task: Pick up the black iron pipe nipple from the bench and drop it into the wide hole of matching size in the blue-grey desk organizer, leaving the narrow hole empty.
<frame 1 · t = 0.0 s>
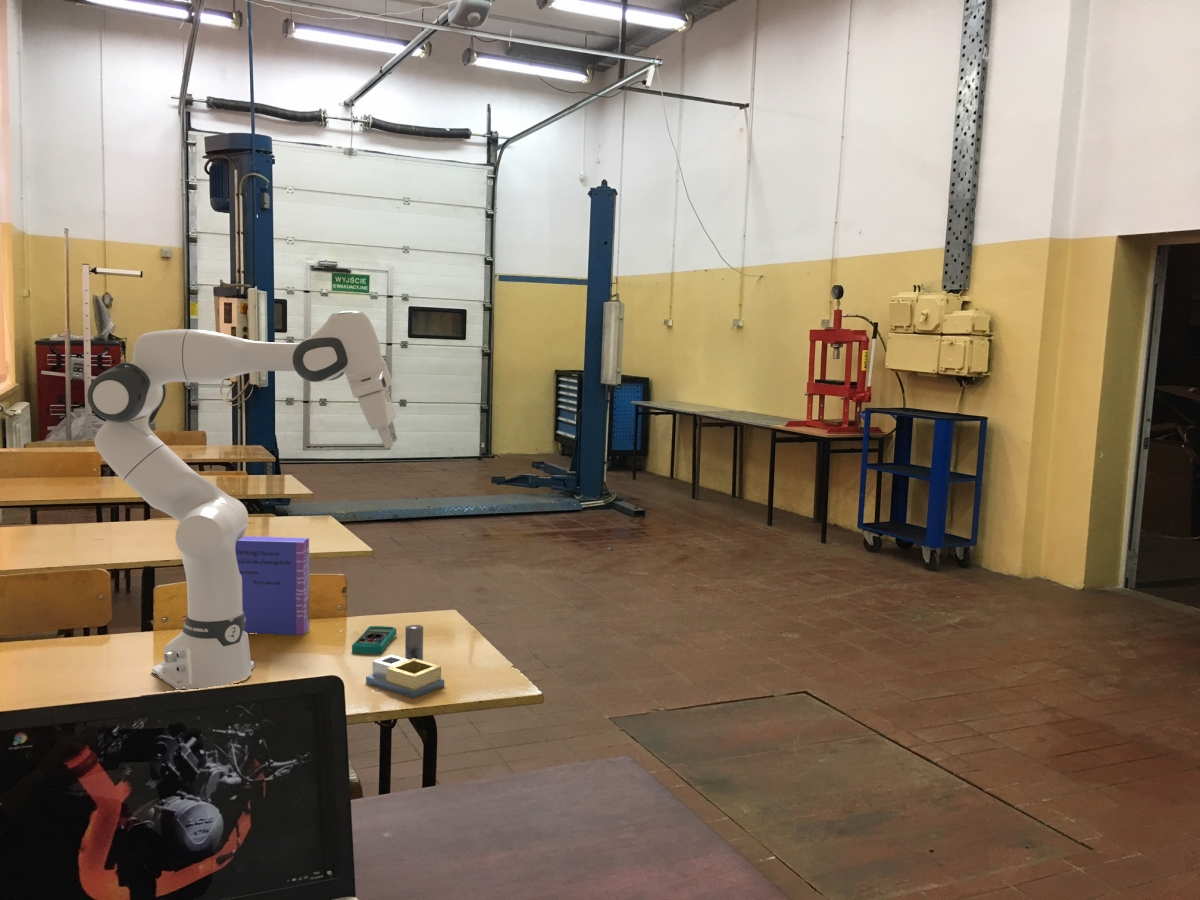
hand: (391, 444, 207), 52 cm above the table, tool tilted 20°, fingers open, 8 cm apart
pipe nipple: (414, 665, 221), on the table
desk organizer: (405, 684, 208), on the table
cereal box: (272, 632, 241), on the table
digital multimeter: (374, 646, 235), on the table
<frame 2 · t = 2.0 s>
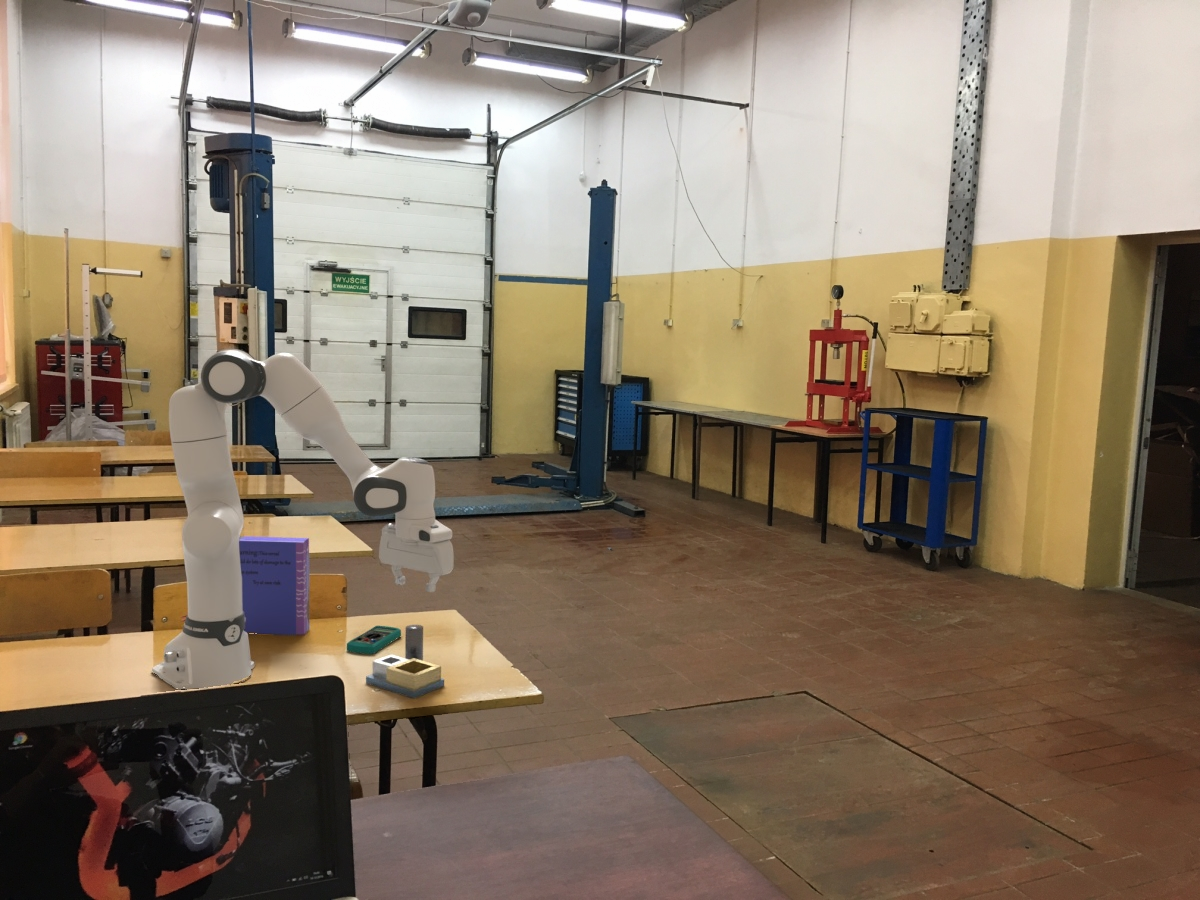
hand: (415, 587, 218), 18 cm above the table, tool pointing down, fingers open, 8 cm apart
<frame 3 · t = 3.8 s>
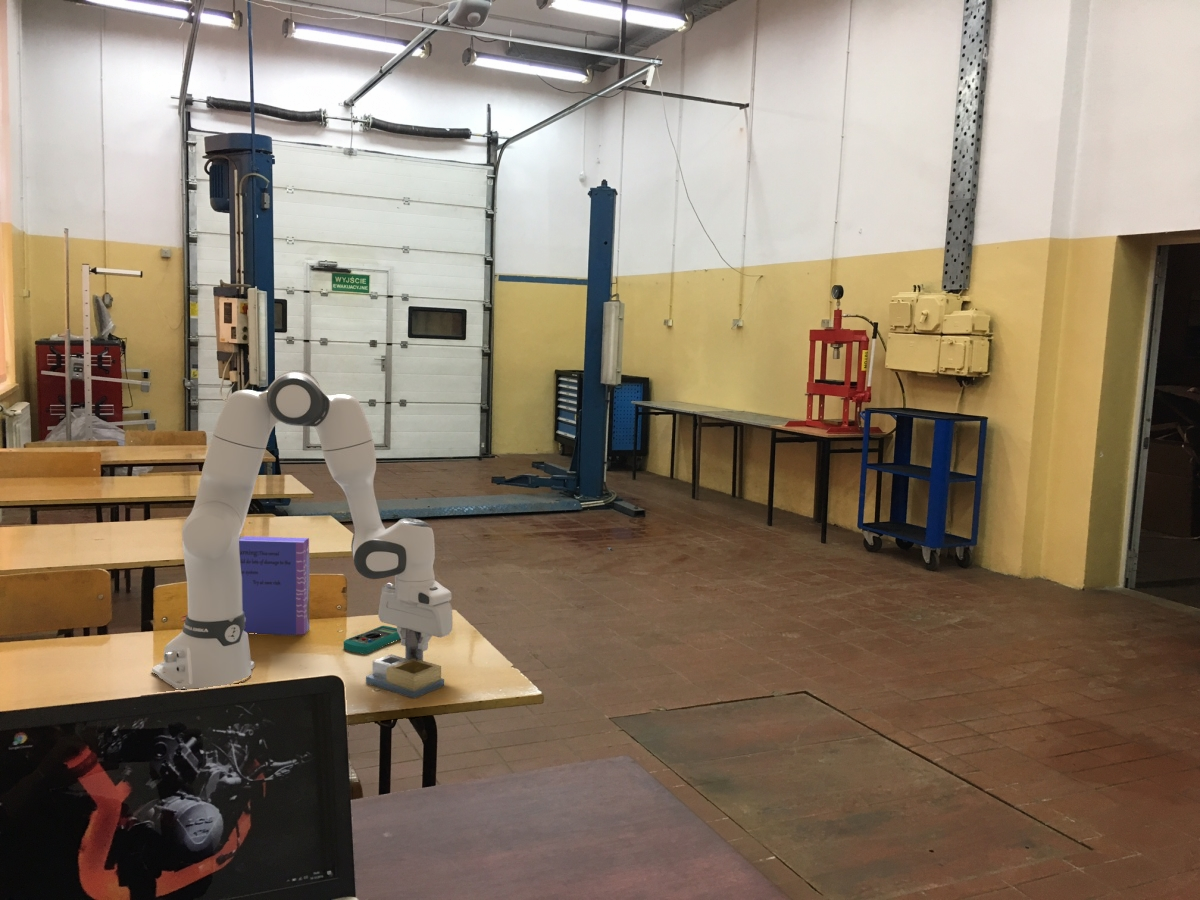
hand: (414, 647, 220), 4 cm above the table, tool pointing down, fingers closed on pipe nipple, 4 cm apart
pipe nipple: (414, 665, 221), on the table, touching gripper
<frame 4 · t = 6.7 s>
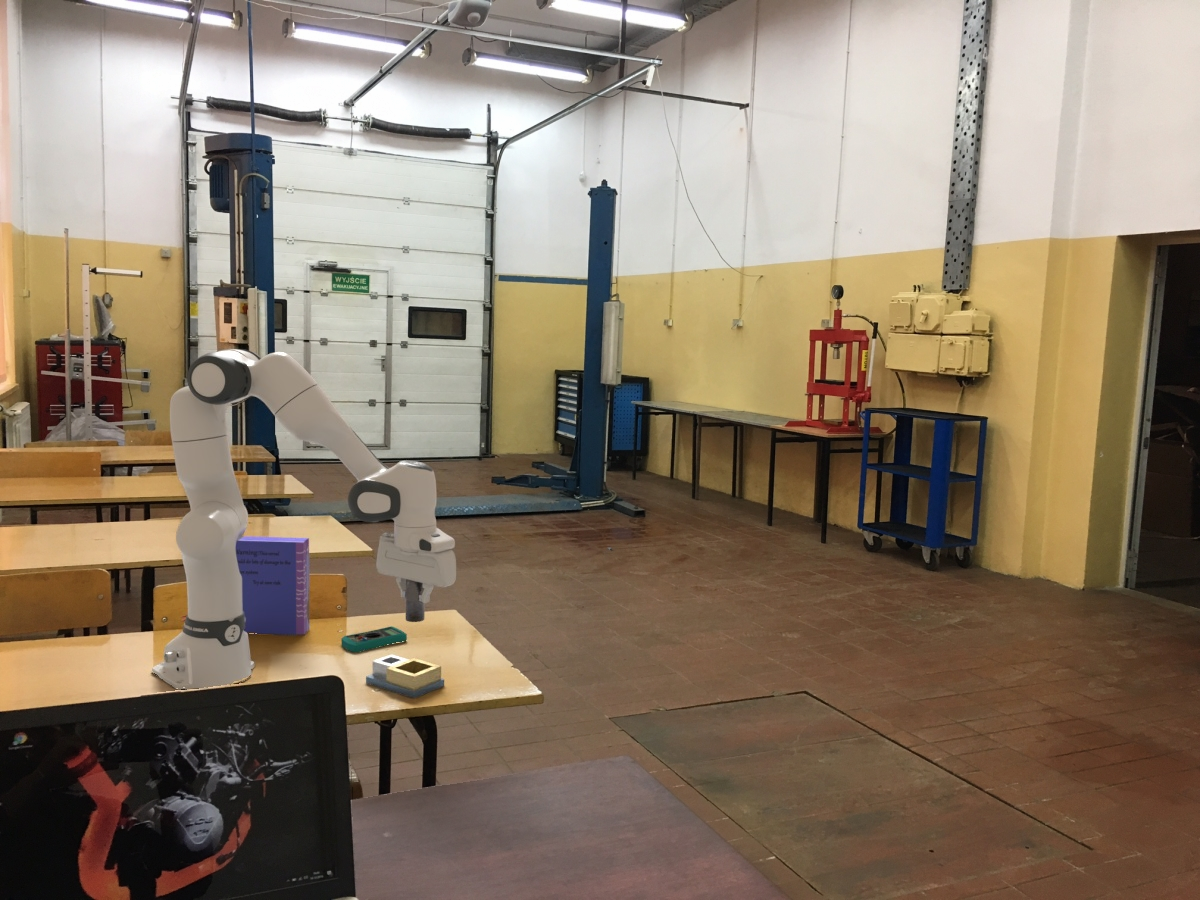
hand: (414, 600, 205), 19 cm above the table, tool pointing down, fingers closed on pipe nipple, 4 cm apart
pipe nipple: (415, 619, 206), point 15 cm above the table, touching gripper
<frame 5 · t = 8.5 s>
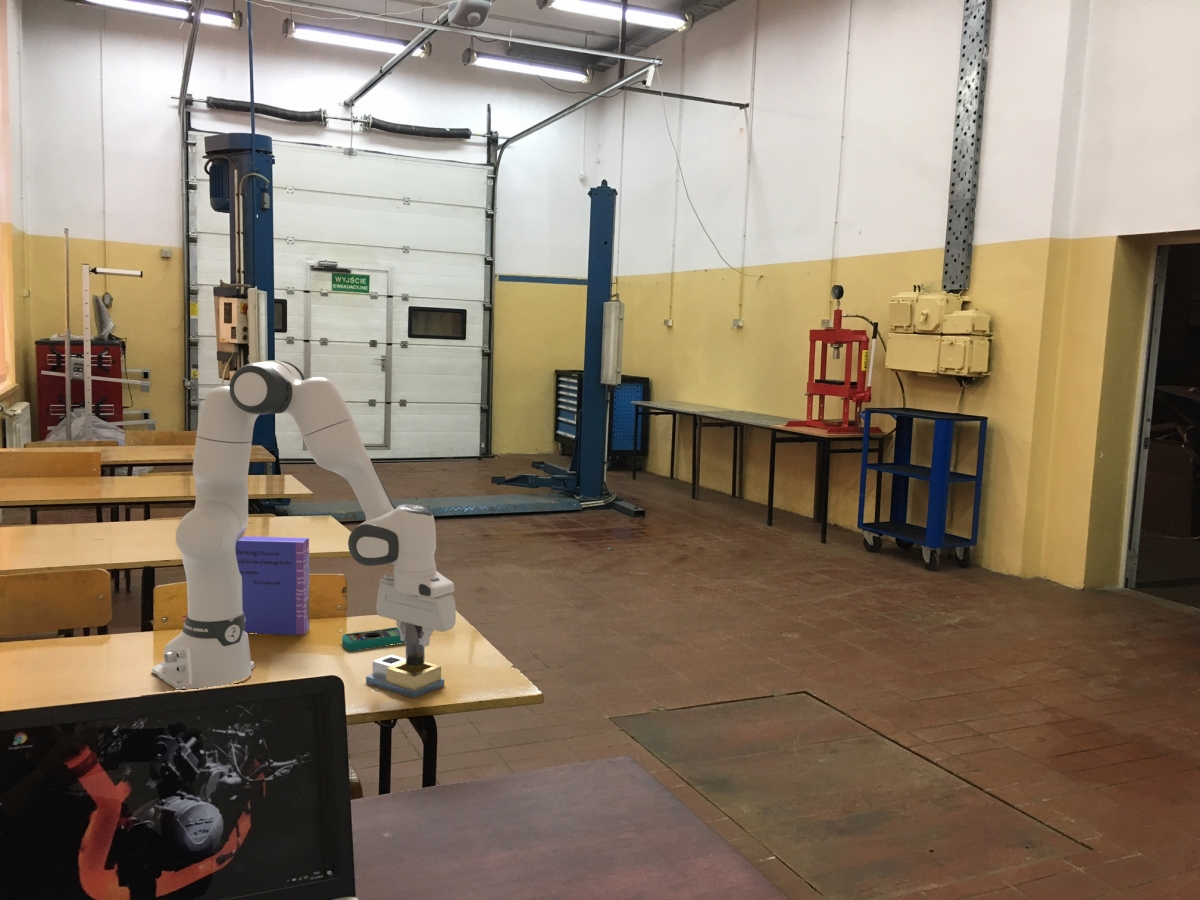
hand: (414, 643, 206), 10 cm above the table, tool pointing down, fingers closed on pipe nipple, 4 cm apart
pipe nipple: (415, 662, 206), point 6 cm above the table, touching gripper
when the fingers open (7 cm above the table, at t = 9.9 s): pipe nipple stays where it is, resting on desk organizer.
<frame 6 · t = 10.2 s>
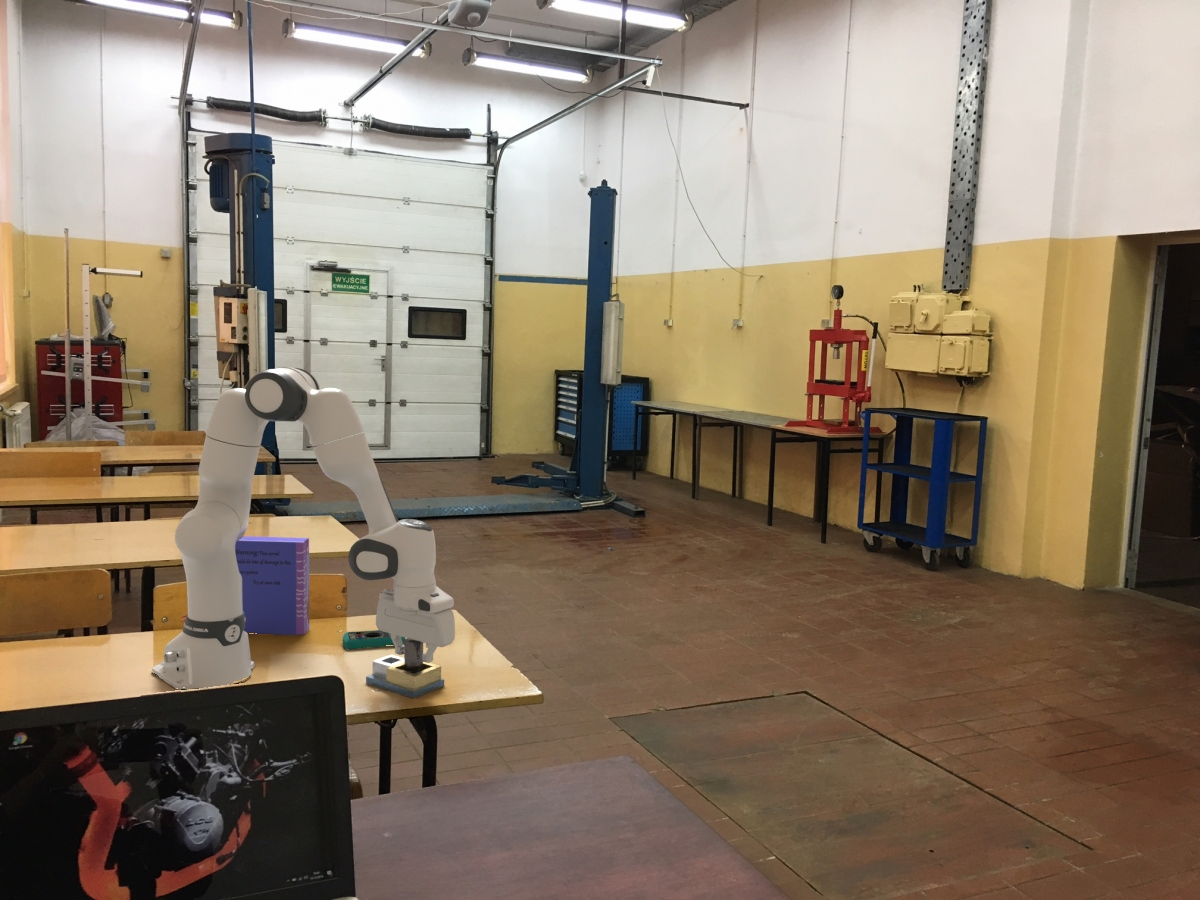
hand: (413, 657, 206), 7 cm above the table, tool pointing down, fingers open, 7 cm apart
pipe nipple: (413, 680, 207), point 2 cm above the table, touching desk organizer
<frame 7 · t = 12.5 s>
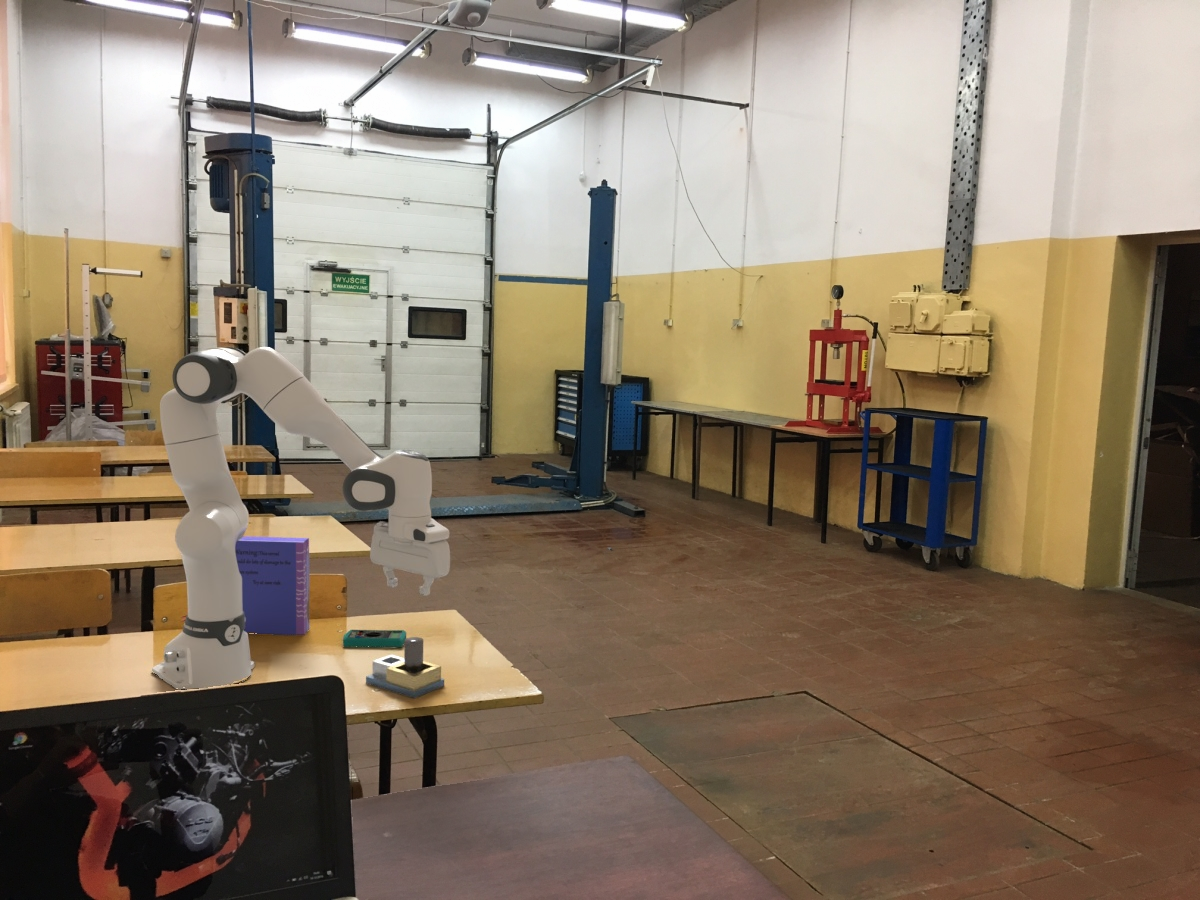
hand: (408, 590, 204), 22 cm above the table, tool pointing down, fingers open, 8 cm apart
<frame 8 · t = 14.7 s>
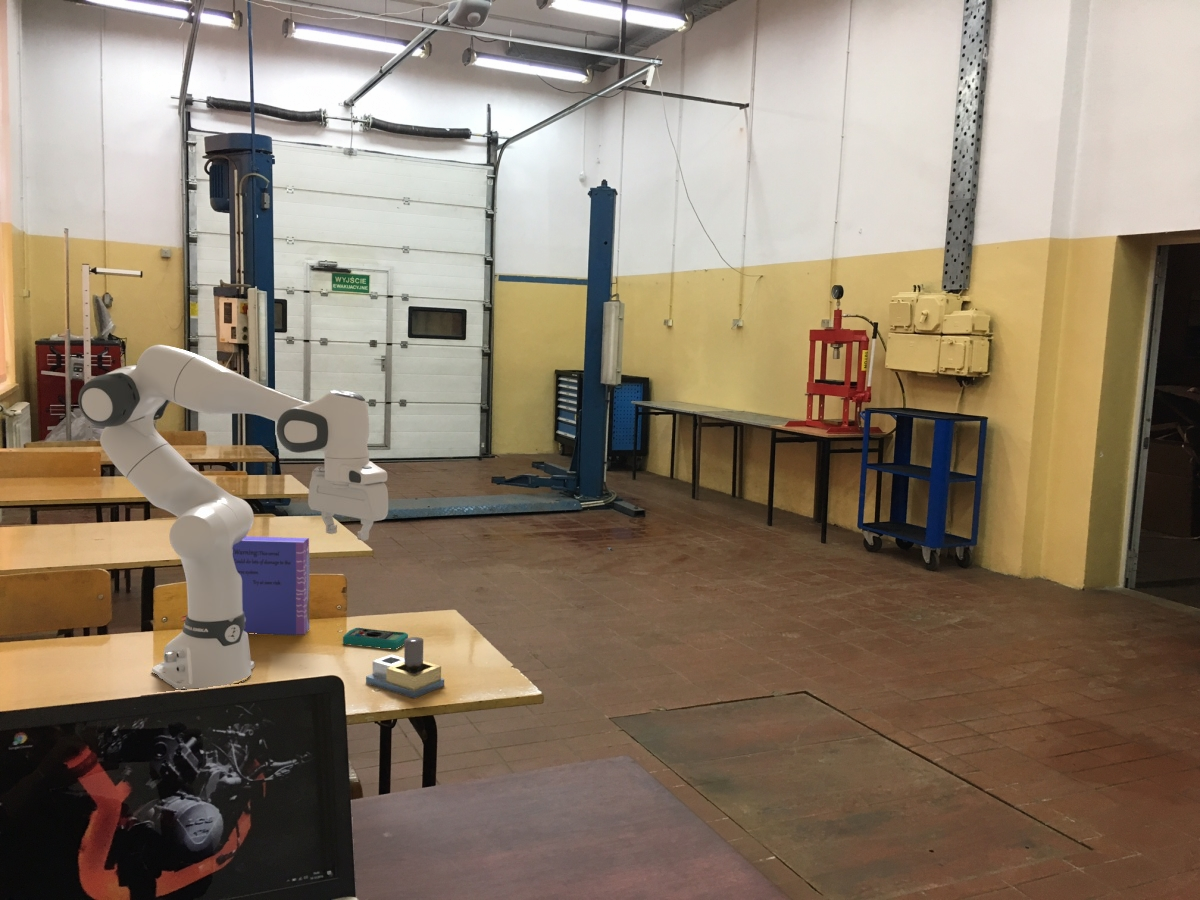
hand: (347, 536, 197), 34 cm above the table, tool pointing down, fingers open, 8 cm apart
at the end: pipe nipple 0.1 cm from the target spot on the desk organizer, point 1.5 cm above the desk organizer's base; pipe nipple tilted 0°; the gripper is holding nothing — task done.
